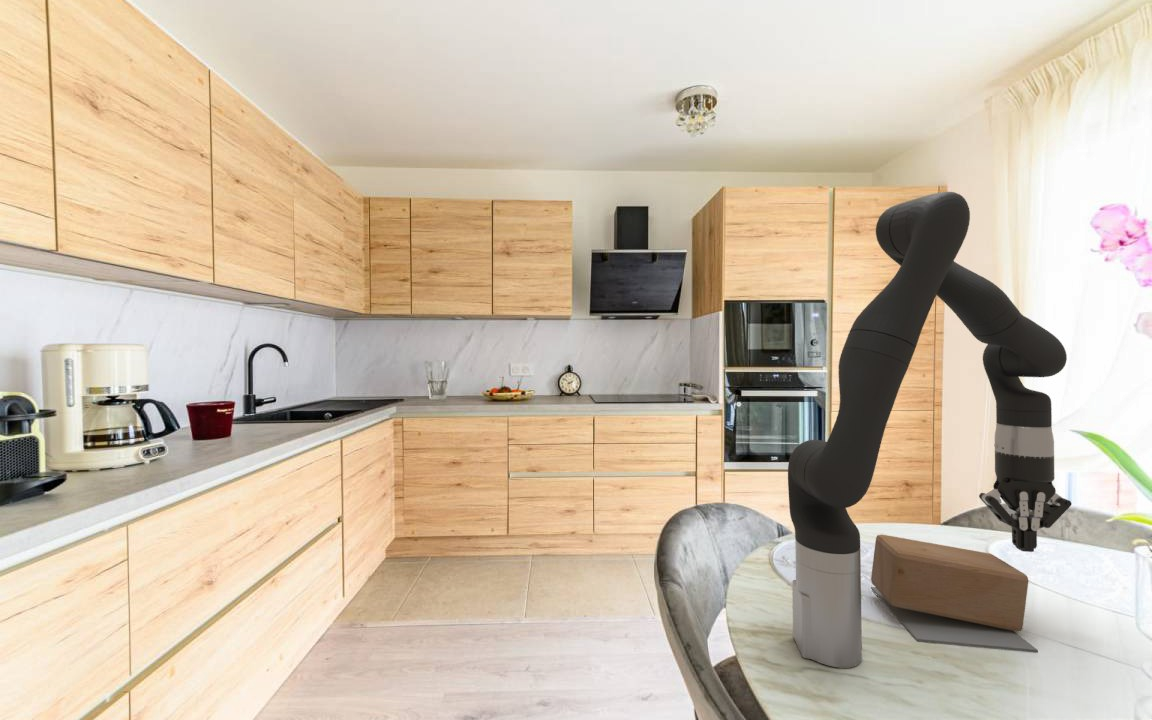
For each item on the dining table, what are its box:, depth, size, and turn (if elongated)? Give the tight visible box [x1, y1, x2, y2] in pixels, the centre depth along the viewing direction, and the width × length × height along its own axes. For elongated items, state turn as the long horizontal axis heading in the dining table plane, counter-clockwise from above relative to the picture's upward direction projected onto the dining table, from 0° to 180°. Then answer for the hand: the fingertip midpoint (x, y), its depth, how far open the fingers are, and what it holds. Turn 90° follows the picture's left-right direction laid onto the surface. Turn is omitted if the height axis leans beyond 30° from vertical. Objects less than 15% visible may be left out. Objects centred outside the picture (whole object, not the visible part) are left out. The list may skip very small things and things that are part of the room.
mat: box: [870, 586, 1039, 653], centre depth 84 cm, size 17×18×1 cm
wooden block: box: [870, 534, 1029, 632], centre depth 85 cm, size 10×10×20 cm
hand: (1024, 549), depth 82 cm, fingers closed
